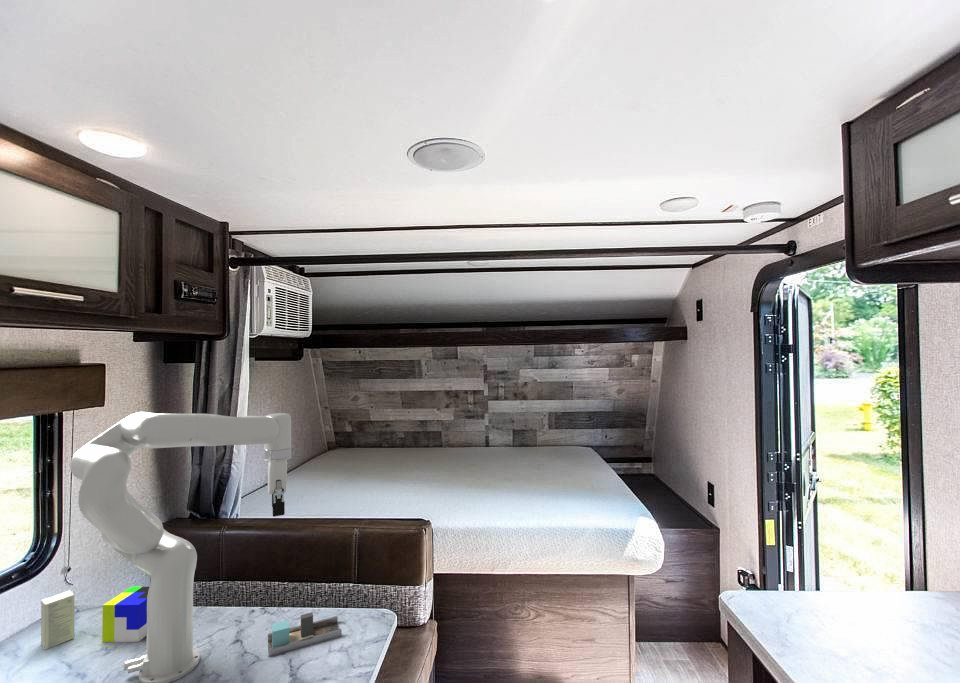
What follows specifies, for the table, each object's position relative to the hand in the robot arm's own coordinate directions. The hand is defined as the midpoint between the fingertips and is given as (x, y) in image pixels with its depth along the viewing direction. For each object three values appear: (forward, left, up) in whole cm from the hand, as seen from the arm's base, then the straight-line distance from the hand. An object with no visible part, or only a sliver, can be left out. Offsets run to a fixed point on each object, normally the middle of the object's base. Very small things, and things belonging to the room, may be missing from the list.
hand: (278, 510), depth 137 cm
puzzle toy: (-37, +9, -31) cm, 49 cm away
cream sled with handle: (+3, -19, -30) cm, 35 cm away
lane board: (+6, -19, -30) cm, 36 cm away
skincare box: (-55, +13, -31) cm, 64 cm away
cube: (0, -19, -29) cm, 34 cm away
